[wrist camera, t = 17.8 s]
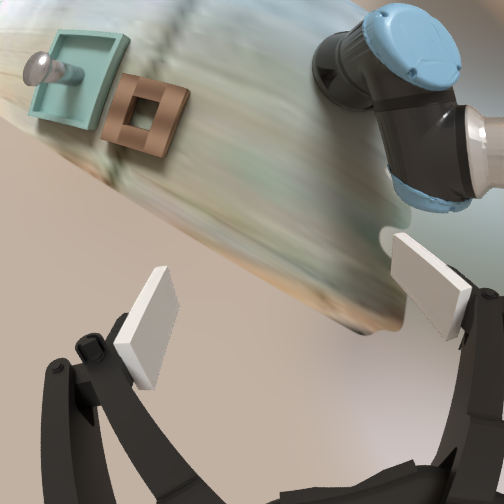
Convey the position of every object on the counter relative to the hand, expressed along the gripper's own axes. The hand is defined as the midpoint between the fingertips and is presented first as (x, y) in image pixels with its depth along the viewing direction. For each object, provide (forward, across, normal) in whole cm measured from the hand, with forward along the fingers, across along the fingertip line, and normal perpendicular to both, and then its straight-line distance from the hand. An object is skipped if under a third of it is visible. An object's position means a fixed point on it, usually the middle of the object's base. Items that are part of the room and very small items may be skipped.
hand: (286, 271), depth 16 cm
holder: (+35, -17, +14) cm, 41 cm away
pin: (+34, -30, +26) cm, 52 cm away
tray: (+35, -30, +26) cm, 53 cm away
